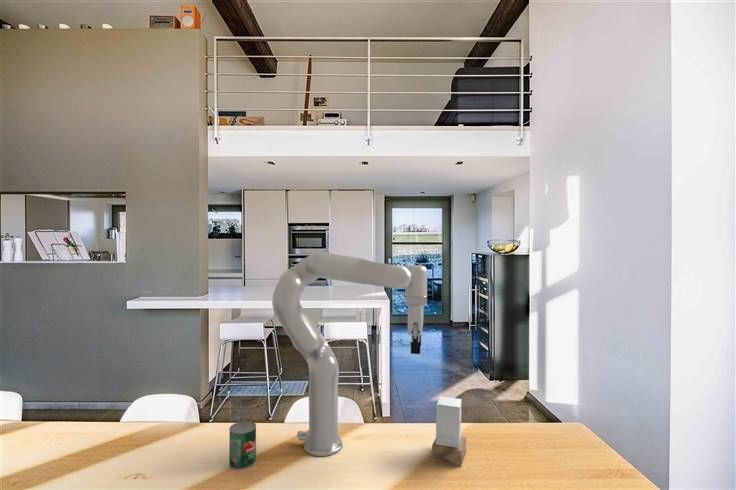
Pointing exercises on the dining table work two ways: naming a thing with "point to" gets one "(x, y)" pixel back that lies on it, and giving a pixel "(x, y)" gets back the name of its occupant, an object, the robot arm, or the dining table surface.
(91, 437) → the dining table surface
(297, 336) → the robot arm
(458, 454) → the walnut block
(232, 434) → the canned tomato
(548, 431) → the dining table surface
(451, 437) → the supplement box
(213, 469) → the dining table surface
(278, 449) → the dining table surface
